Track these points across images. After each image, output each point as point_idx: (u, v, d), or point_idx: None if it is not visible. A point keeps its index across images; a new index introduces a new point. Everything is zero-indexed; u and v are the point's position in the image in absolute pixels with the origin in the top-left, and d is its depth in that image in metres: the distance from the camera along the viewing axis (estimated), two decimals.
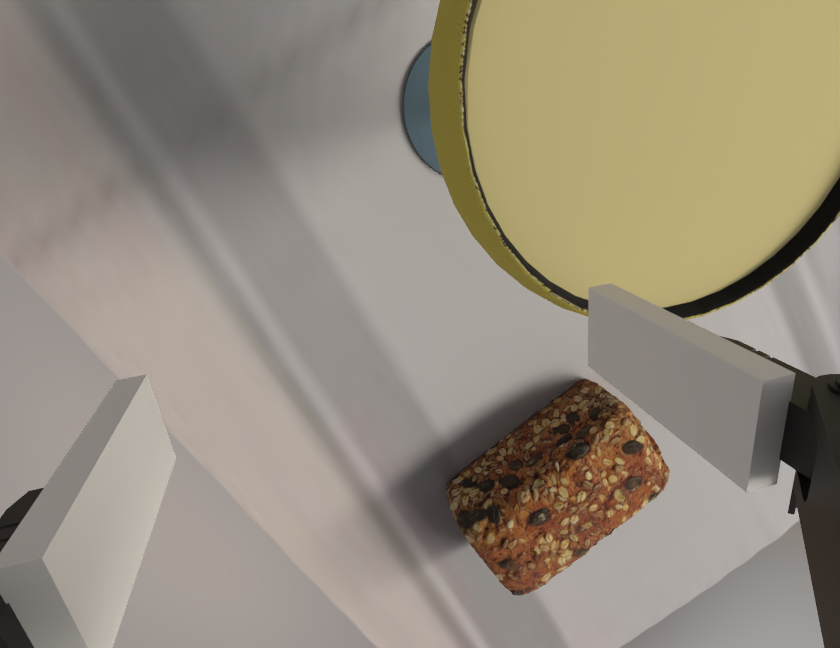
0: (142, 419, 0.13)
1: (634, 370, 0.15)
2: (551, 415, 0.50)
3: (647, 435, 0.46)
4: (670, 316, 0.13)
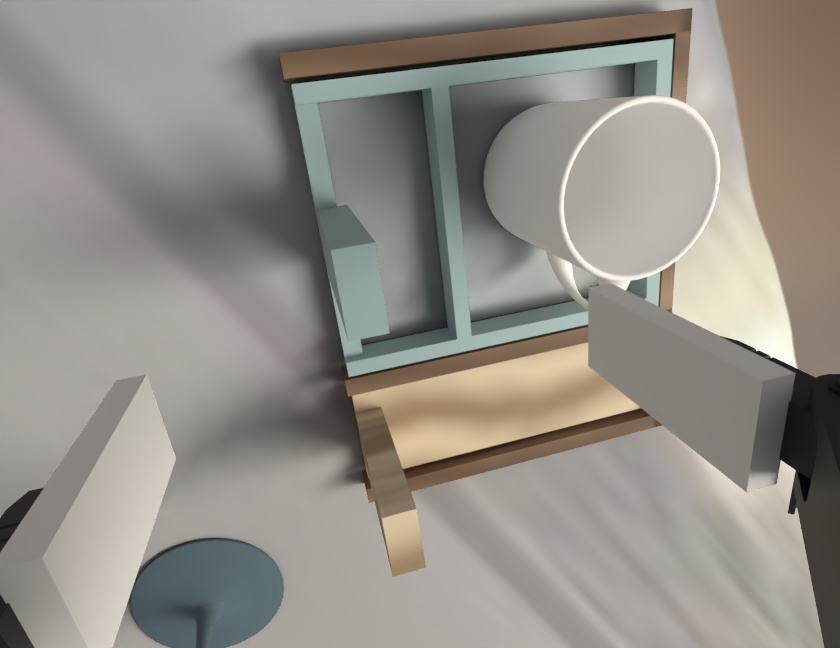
0: (142, 419, 0.13)
1: (634, 370, 0.15)
2: None
3: None
4: (670, 316, 0.13)
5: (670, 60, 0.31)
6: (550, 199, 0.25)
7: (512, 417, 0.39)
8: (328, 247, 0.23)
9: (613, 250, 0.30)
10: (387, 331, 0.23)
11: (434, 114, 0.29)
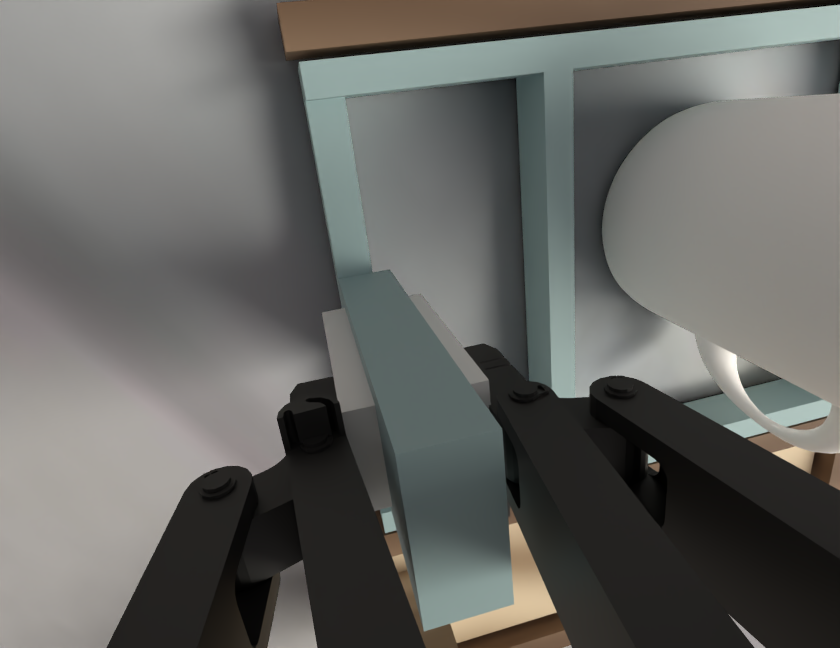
0: None
1: None
2: None
3: None
4: (439, 326, 0.15)
5: None
6: (821, 290, 0.12)
7: None
8: (379, 412, 0.10)
9: None
10: (509, 601, 0.10)
11: (545, 118, 0.17)
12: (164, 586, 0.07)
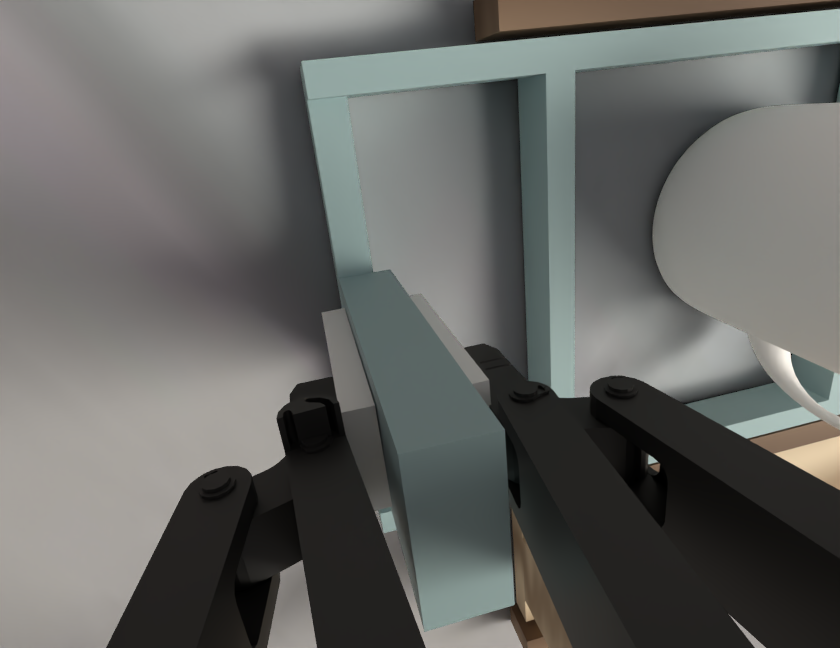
0: None
1: None
2: None
3: None
4: (439, 326, 0.15)
5: None
6: None
7: None
8: (381, 412, 0.10)
9: None
10: (510, 602, 0.10)
11: (547, 119, 0.17)
12: (164, 586, 0.07)
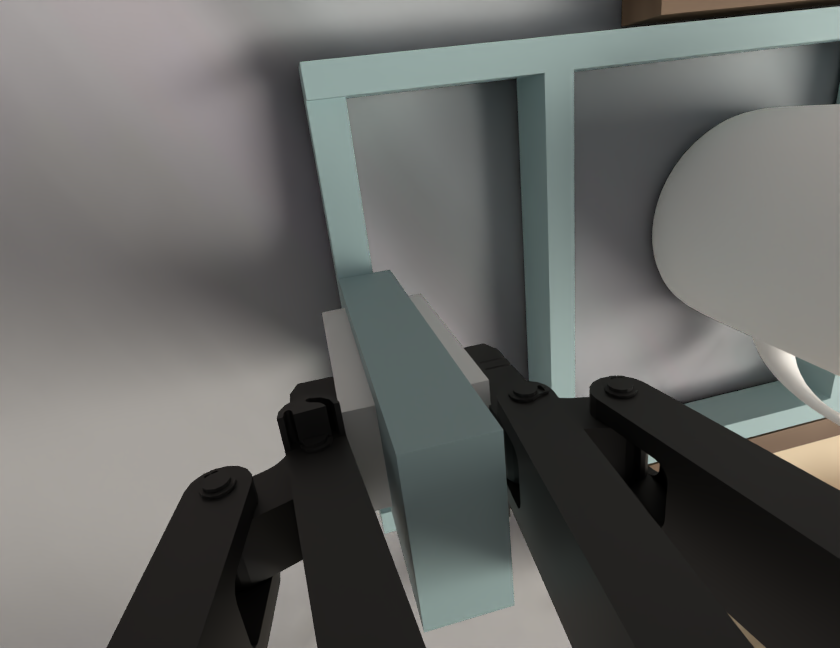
0: None
1: None
2: None
3: None
4: (439, 326, 0.15)
5: None
6: None
7: None
8: (380, 413, 0.10)
9: None
10: (510, 602, 0.10)
11: (546, 118, 0.17)
12: (164, 586, 0.07)
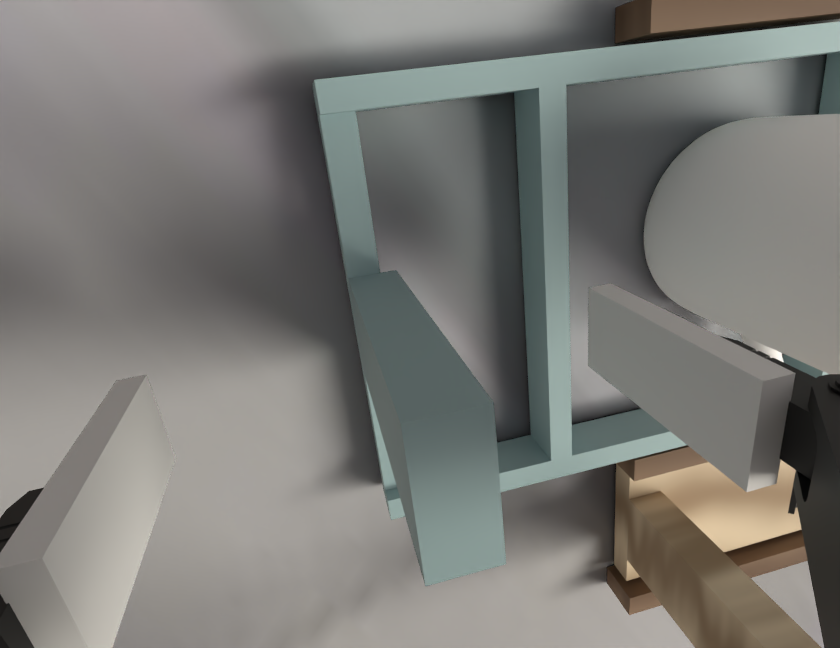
0: (142, 419, 0.13)
1: (634, 370, 0.15)
2: None
3: None
4: (670, 316, 0.13)
5: None
6: None
7: None
8: (386, 392, 0.11)
9: None
10: (502, 561, 0.11)
11: (541, 129, 0.18)
12: None
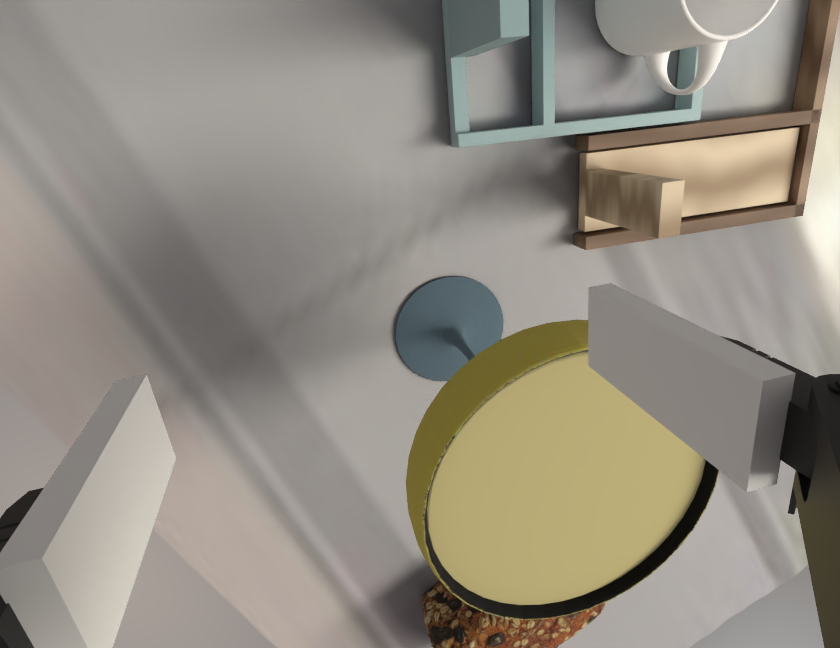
0: (142, 419, 0.13)
1: (634, 370, 0.15)
2: None
3: None
4: (670, 316, 0.13)
5: None
6: None
7: (692, 194, 0.50)
8: None
9: None
10: (527, 33, 0.32)
11: None
12: None
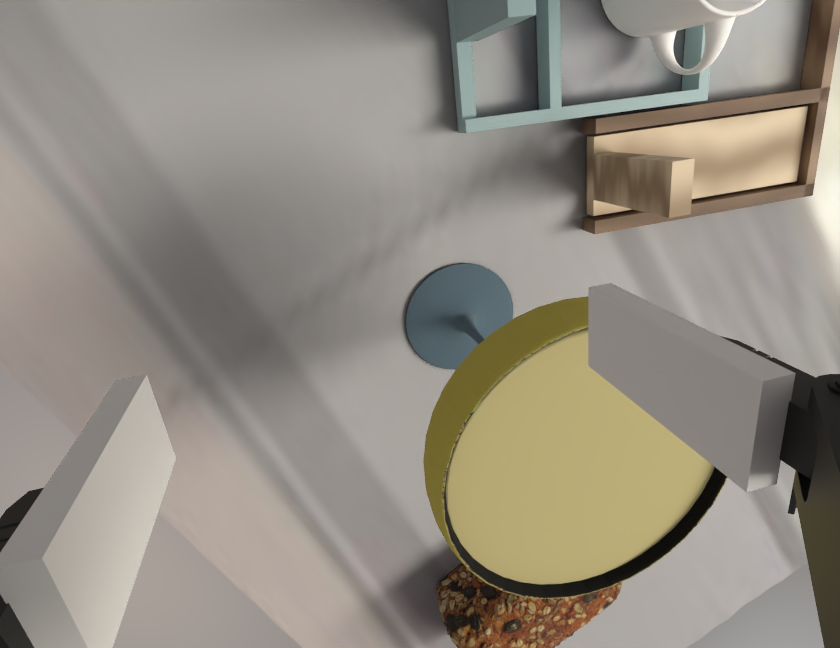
0: (142, 419, 0.13)
1: (634, 370, 0.15)
2: None
3: None
4: (670, 316, 0.13)
5: None
6: None
7: (701, 175, 0.50)
8: None
9: None
10: (535, 12, 0.31)
11: None
12: None
